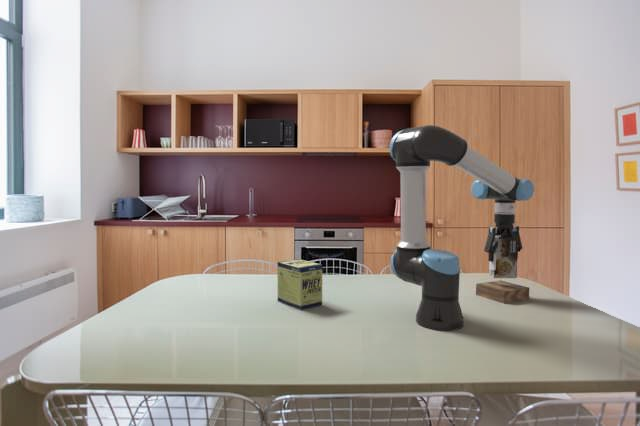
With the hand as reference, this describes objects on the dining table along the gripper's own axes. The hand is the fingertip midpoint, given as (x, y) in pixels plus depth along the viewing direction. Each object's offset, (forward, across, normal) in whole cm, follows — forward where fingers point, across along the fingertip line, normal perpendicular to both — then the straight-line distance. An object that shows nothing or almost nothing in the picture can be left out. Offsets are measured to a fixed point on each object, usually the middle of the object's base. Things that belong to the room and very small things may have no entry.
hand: (502, 268), depth 174 cm
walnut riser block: (+12, 0, 0) cm, 12 cm away
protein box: (+12, -78, +24) cm, 83 cm away
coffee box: (+4, 0, 0) cm, 4 cm away
